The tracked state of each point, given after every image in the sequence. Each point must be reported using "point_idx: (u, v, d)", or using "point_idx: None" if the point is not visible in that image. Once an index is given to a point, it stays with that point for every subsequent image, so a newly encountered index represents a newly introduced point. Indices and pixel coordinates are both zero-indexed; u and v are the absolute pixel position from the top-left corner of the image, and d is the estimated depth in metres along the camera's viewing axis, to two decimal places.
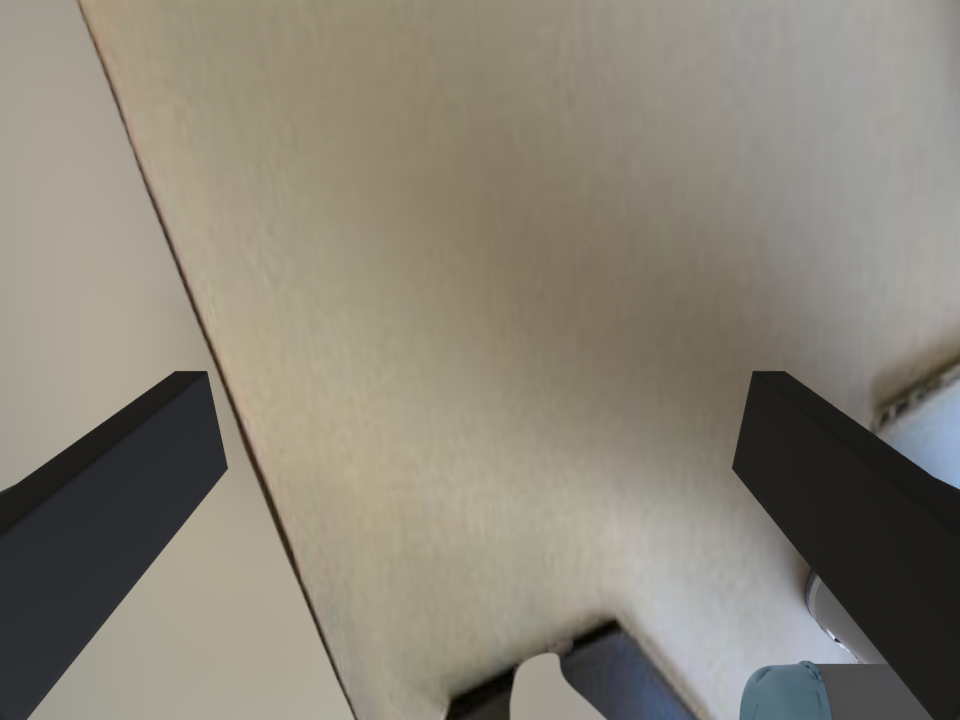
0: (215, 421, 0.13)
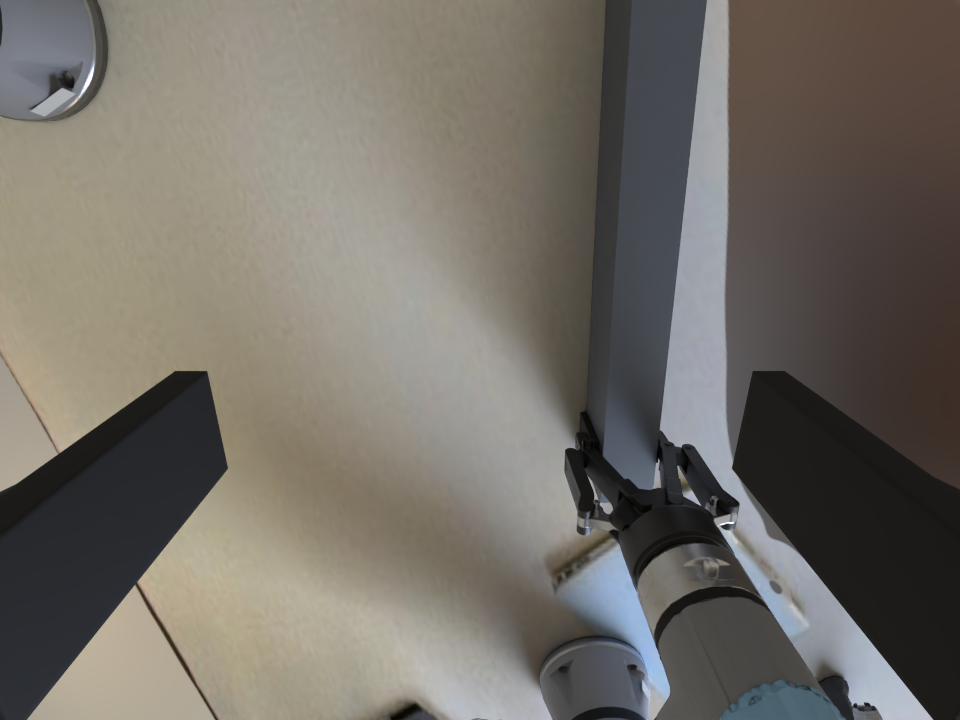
0: (215, 421, 0.13)
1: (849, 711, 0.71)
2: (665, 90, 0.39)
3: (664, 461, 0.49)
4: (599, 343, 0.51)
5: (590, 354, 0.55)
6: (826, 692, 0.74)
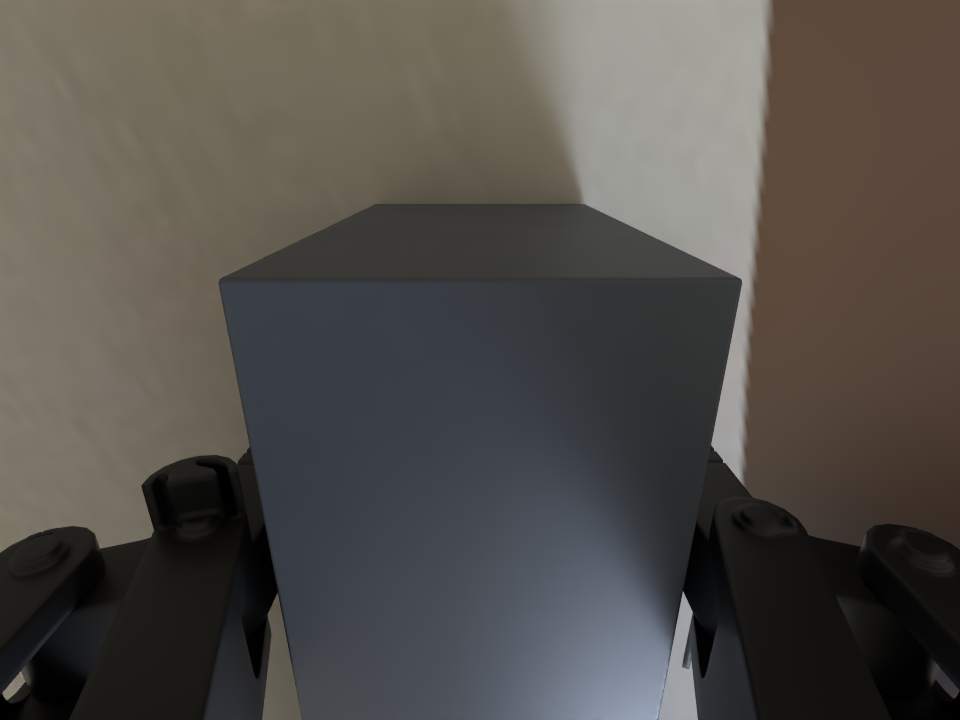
0: None
1: None
2: None
3: None
4: None
5: None
6: None
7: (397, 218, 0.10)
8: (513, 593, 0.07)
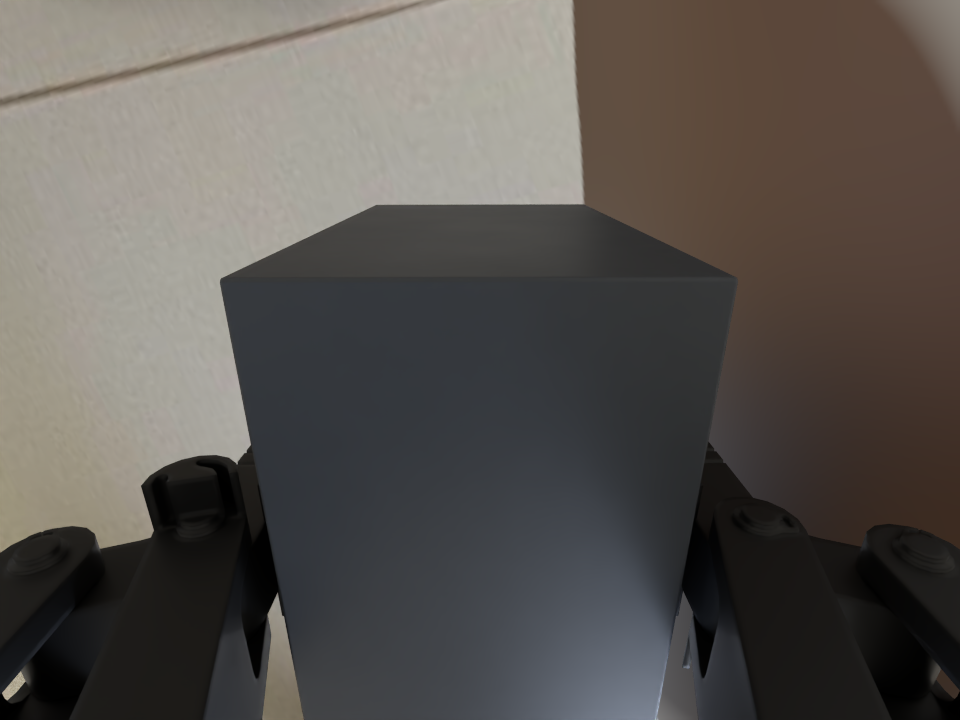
0: None
1: None
2: None
3: None
4: None
5: None
6: None
7: (397, 218, 0.10)
8: (512, 591, 0.07)
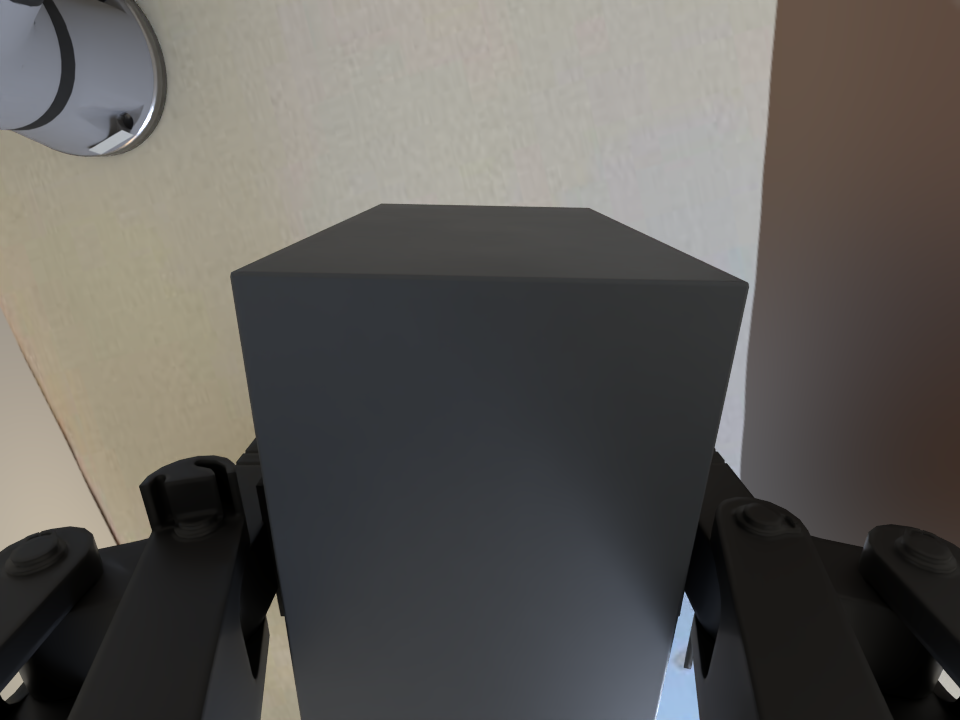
0: None
1: None
2: None
3: None
4: None
5: None
6: None
7: (403, 217, 0.10)
8: (513, 591, 0.07)
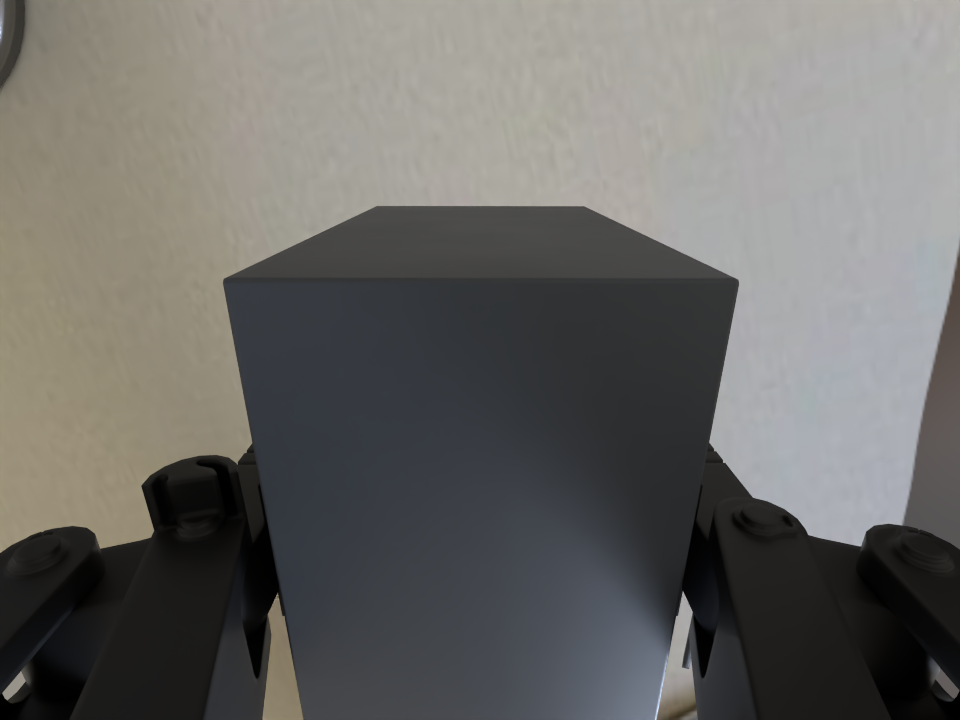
0: None
1: None
2: None
3: None
4: None
5: None
6: None
7: (398, 220, 0.10)
8: (513, 590, 0.07)
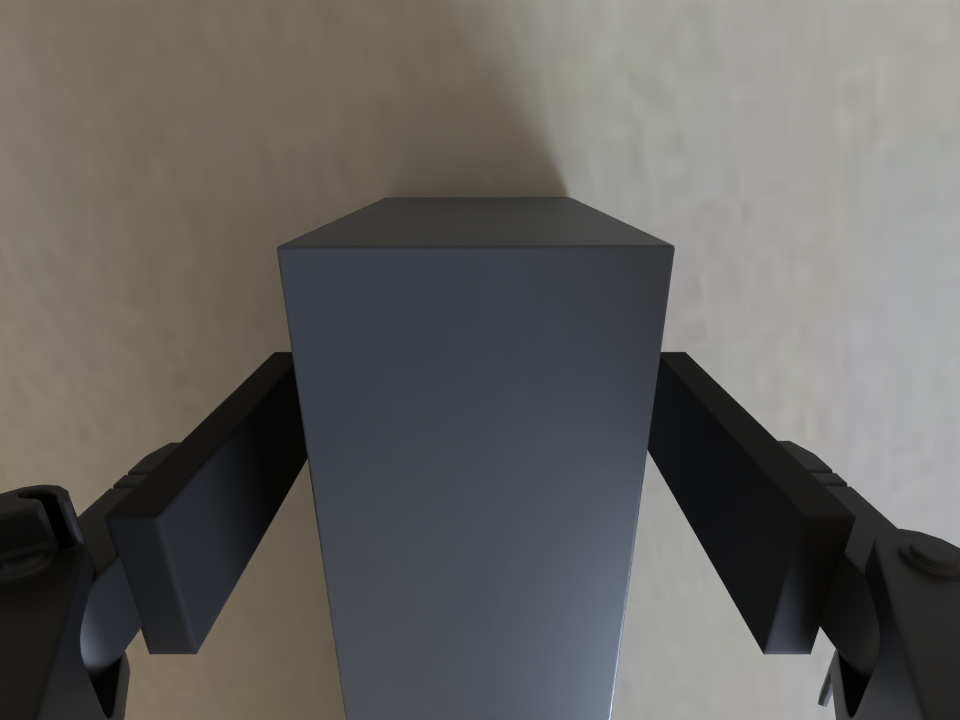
0: None
1: None
2: None
3: None
4: None
5: None
6: None
7: (406, 208, 0.12)
8: (504, 504, 0.08)
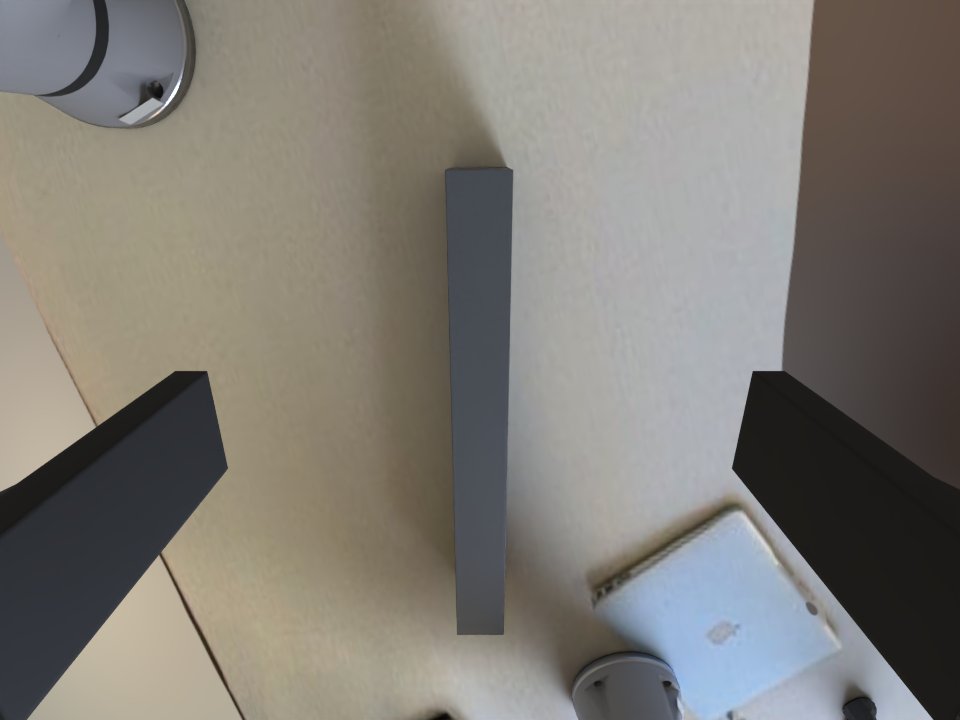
0: (215, 420, 0.13)
1: None
2: (482, 321, 0.45)
3: None
4: None
5: None
6: (854, 713, 0.75)
7: None
8: (484, 224, 0.42)
